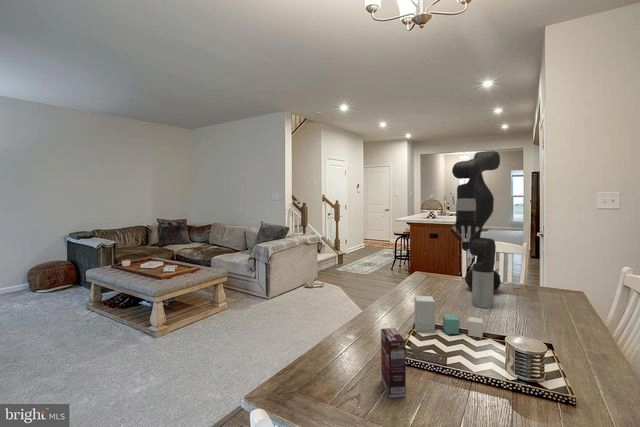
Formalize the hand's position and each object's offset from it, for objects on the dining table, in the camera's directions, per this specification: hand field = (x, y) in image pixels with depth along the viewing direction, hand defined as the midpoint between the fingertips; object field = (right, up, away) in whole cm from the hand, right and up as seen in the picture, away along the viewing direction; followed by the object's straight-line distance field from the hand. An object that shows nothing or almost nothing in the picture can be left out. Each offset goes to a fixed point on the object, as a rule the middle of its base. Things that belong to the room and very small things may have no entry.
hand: (465, 250), depth 137 cm
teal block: (-9, -32, -8) cm, 34 cm away
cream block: (-1, -32, -11) cm, 33 cm away
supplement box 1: (-41, -34, -45) cm, 70 cm away
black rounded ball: (+30, -28, +46) cm, 62 cm away
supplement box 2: (-19, -32, -4) cm, 37 cm away
